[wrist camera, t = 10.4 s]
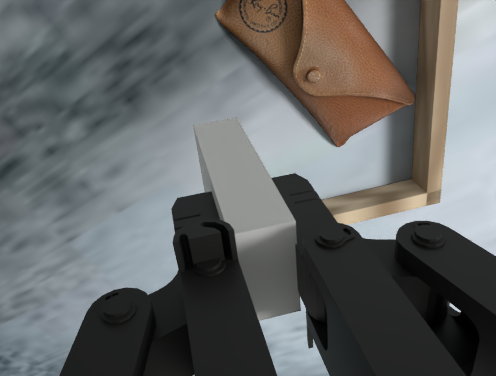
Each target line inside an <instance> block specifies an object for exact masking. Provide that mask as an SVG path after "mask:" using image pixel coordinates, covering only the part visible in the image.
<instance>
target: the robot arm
mask: <svg viewBox="0 0 496 376" xmlns="http://www.w3.org/2000/svg"><path fill="white" fill-rule="evenodd" d="M193 126H194V132H195V138H196V144H197V150H198V155H199V161H200V167H201V173H202V179H203V184H204V190H205V193H200V194H195V195H190V196H185V197H180V198H177V200H176V201H175V203H174V205H173V207H172V215H173V221H174V229H175V235H174V238H173V246H174V251H175V255H176V260H177V264H178V268H179V270H178V273H177V275H176V276H175V277H174V279H173V280H172V281H171V282H170V283H168V284H167V285H166V286H164V287H163V288H161V289H159V290H158V291H155V292H153V293H151V294H149V295H147V293H146V292H144V291H142V290H140V289H138V288H122V289H117V290H113V291H111V292H109V293H107V294H105V295H102V296H101V297H100V298H99V299H97V300H96V301H95V302H94V303H93V304H92V305H91V307H90V308H89V310H88V311H87V313H86V315H85V317H84V320H83V322H82V324H81V327H80V329H79V331H78V334H77V336H76V338H75V341H74V343H73V345H72V348H71V350H70V352H69V355H68V357H67V359H66V362H65V364H64V366H63V369H62V371H61V373H60V376H192V375H194V374H195V376H277V374H276V371H275V368H274V365H273V362H272V359H271V356H270V353H269V350H268V347H267V344H266V341H265V338H264V335H263V332H262V329H261V326H260V323H259V321H260V320H264V319H268V318H272V317H276V316H280V315H284V314H288V313H293V312H297V311H301V307H300V296H301V299H302V301H303V303H304V305H305V307H306V319H307V340H308V346H309V348H312V347H313V339H314V341H315V344H316V346H317V348H318V350H319V353H320V355H321V357H322V359H323V362H324V364H325V366H326V368H327V371H328V373H329V375H330V376H496V256H494V255H493V254H491V253H489V252H488V251H486V250H485V249H483V248H481V247H480V246H478V245H476V244H475V243H473V242H472V241H470V240H468V239H467V238H465V237H463V236H462V235H460V234H459V233H457V232H455V231H454V230H452V229H450V228H449V227H446V226H444V225H442V224H440V223H435V222H430V221H414V222H410V223H406V224H405V225H403V226H402V227H400V228H399V230H398V232H397V234H396V240H375V239H365V238H362V237H361V235H360V234H359V233H358V232H357V231H356V230H355V229H354V228H352V227H350V226H348V225H345V224H343V223H338V222H337V221H336V219H335V218H334V217H333V215H332V214H331V212H330V211H329V210H328V208H327V207H326V205H325V204H324V203H323V201H322V200H321V199H320V198H319V196H318V194H317V193H316V191H314V189H313V187H312V186H311V184H310V183H309V182H308V180H306V179H304V178H303V177H301V176H299V175H297V174H295V173H294V174H289V175H284V176H279V177H274V178H271V177H270V175H269V173H268V172H267V170H266V168H265V167H264V165H263V163H262V161H261V160H260V158H259V156H258V154H257V153H256V151H255V149H254V147H253V146H252V144H251V142H250V140H249V139H248V137H247V135H246V133H245V132H244V130H243V128H242V126H241V125H240V123H239V121H238V119H237V118H232V119H227V120H221V121H215V122H210V123H204V124H199V125H193ZM450 303H451V304H453V305H454V306H455V307H456V308H458V309H459V310H460V311H461V313H460V312H457V311H456V310H454V309H453V308H452V307H450V306H449V304H450Z"/></svg>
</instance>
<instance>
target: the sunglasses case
mask: <svg viewBox="0 0 496 376" xmlns="http://www.w3.org/2000/svg"><path fill="white" fill-rule="evenodd" d="M215 16H216V19H217V20H218V21H219V22H220V23H221V24H222V25H223V26H224V27H225V28H226V29H227V30H229V31H230V32H231V33H232V34H233V35H234V36H235V37H237V39H238V40H240V41H241V42H242V43H243V44H244V45H245V46H247V47H248V48H249V49H250V50H251V51H252V52H253V53H254V54H255V55H256V56H257V57H258V58H259V59H260V60H261V61H262V62H263V63H264V64H265V65H266V66H267V67H268V68H269V69H270V70H271V71H272V72H273V73H274V74H275V75H276V76H277V77H278V78H279V79H280V80H281V82H282V83H283V84H284V85H285V86H286V87H287V88H288V89H289V90H290V92H291V93H293V94H294V96H295V97H296V98H297V99H298V100H299V101H300V102H301V103H302V104H303V105H304V107H305V108H306V109H307V110H308V111H309V112H310V114H312V116H313V117H314V118H315V119H316V120H317V121H318V123H319V124H320V125H321V126H322V128H323V129H324V131H325V132H326V133H327V134H328V136H329V137H330V138H331V140H332V141H333V143H334V144H335V145H336V146H337V147H340V146H342V145H343V144H345V142H346V141H347V140H348V139H349V137H351V136H353V135H354V134H356V133H358V132H359V131H361V130H363V129H364V128H367V127H368V126H370V125H372V124H373V123H375V122H377V121H379V120H381V119H382V118H384V117H386V116H388V115H390V114H391V113H393V112H395V111H397V110H398V109H400V108H402V107H404V106H405V105H412V104H413V103H414V100H415V95H414V93H413V92H412V90H411V89H410V88H409V86H408V85H407V83H406V82H405V81H404V79H403V78H402V76H401V75H400V74H399V72H398V71H397V69H396V68H395V66H394V65H393V64H392V62H391V61H390V60H389V58H388V57H387V56H386V54H385V53H384V51H383V50H382V49H381V47H380V46H379V45H378V44H377V42H376V41H375V40H374V38H373V37H372V36H371V34H370V33H369V32H368V31H367V29H366V28H365V26H364V25H363V24H362V23H361V21H360V20H359V19H358V17H357V16H356V15H355V13H354V12H353V11H352V9H351V8H350V7H349V5H348V4H347V3H346V1H345V0H227V1H226V3H225V4H224V5H223V7H222V8H221V10H220V11H219V10H218V11H217V13H215Z"/></svg>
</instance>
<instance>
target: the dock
mask: <svg viewBox="0 0 496 376" xmlns="http://www.w3.org/2000/svg"><path fill="white" fill-rule="evenodd" d="M457 10H458V0H421V6H420V25H419V45H418V64H417V83H416V103H415V122H414V141H413V161H412V179H410V180H406V181H401V182H397V183H393V184H388V185H384V186H380V187H375V188H371V189H367V190H363V191H358V192H354V193H350V194H345V195H341V196H337V197H332V198H328V199H324V200H322V201H323V203H324V204H325V205H326V207H327V208H328V210H329V211H330V212H331V214H332V215H333V217H334V218H335V219H336V221H337V222H338V223H343V224H345V225H348V224H352V223H357V222H361V221H365V220H369V219H373V218H377V217H382V216H386V215H390V214H394V213H398V212H402V211H406V210H411V209H415V208H419V207H423V206H427V205H431V204H436V203H440V196H441V185H442V174H443V163H444V152H445V141H446V130H447V119H448V108H449V97H450V86H451V76H452V65H453V54H454V43H455V32H456V21H457Z"/></svg>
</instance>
